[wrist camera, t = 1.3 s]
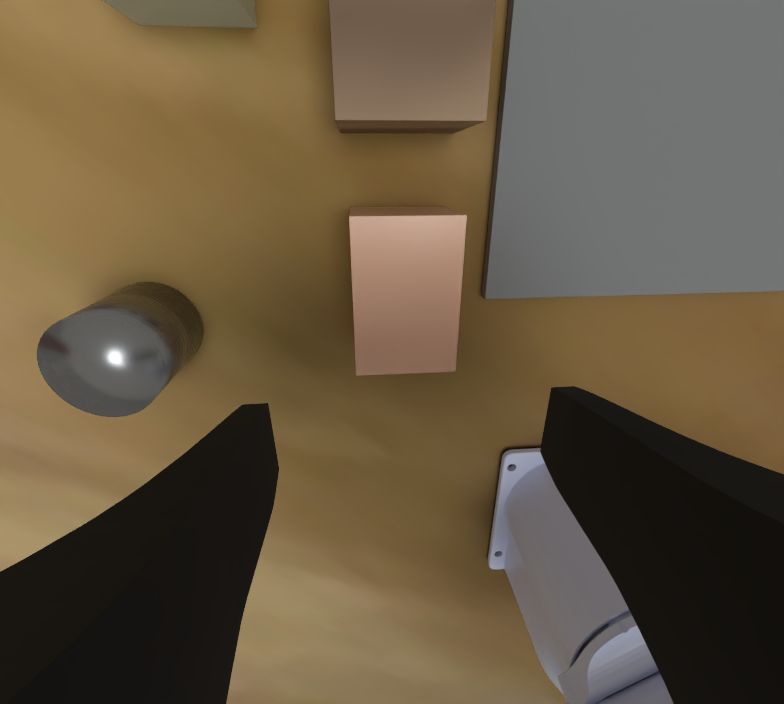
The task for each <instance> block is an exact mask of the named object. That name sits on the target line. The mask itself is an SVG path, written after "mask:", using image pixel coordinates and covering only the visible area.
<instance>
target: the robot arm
mask: <svg viewBox="0 0 784 704" xmlns="http://www.w3.org/2000/svg"><path fill="white" fill-rule="evenodd" d="M510 464H513V465H512V466H510V467H508V466H509V465H510ZM278 472H279V466H278V460H277V454H276V448H275V442H274V436H273V430H272V424H271V418H270V412H269V406H268V403H265V404H246V405H242V406H240V407H239V408H238V409H237V410H235V411H234V412H233V413H232V414H231V415H229V416H228V417H227V418H226V419H225V420H224V421H222V422H221V423H220V424H219V425H218V426H217V427H215V428H214V429H213V430H212V431H211V432H210V433H208V434H207V435H206V436H205V437H204V438H202V439H201V440H200V441H199V442H198V443H197V444H195V445H194V446H193V447H192V448H191V449H189V450H188V451H187V452H186V453H185V454H183V455H182V456H181V457H179V458H178V459H177V460H176V461H174V462H173V463H172V464H170V465H169V466H168V467H166V468H165V469H164V470H163V471H161V472H160V473H159V474H157V475H156V476H155V477H153V478H152V479H151V480H150V481H148V482H147V483H146V484H144V485H143V486H141V487H140V488H139V489H137V490H136V491H134V492H133V493H131V494H130V495H129V496H127V497H126V498H124V499H123V500H121V501H120V502H118V503H117V504H115V505H114V506H112V507H111V508H109V509H108V510H106V511H104V512H103V513H101V514H100V515H98V516H97V517H95V518H94V519H92V520H90V521H89V522H87V523H86V524H84V525H82V526H81V527H79V528H77V529H75V530H74V531H72V532H70V533H68V534H67V535H65V536H63V537H62V538H60V539H58V540H56V541H55V542H53V543H51V544H49V545H48V546H46V547H44V548H43V549H41V550H39V551H37V552H36V553H34V554H32V555H30V556H29V557H27V558H25V559H23V560H22V561H20V562H18V563H16V564H14V565H12V566H10V567H9V568H7V569H5V570H3V571H1V572H0V704H226V701H227V695H228V690H229V684H230V678H231V672H232V667H233V662H234V657H235V652H236V646H237V641H238V636H239V631H240V625H241V620H242V616H243V612H244V608H245V604H246V600H247V596H248V593H249V589H250V586H251V583H252V579H253V576H254V572H255V569H256V565H257V562H258V558H259V555H260V552H261V548H262V545H263V541H264V538H265V534H266V531H267V527H268V524H269V520H270V517H271V513H272V509H273V505H274V499H275V493H276V486H277V479H278ZM488 564H489V567H490V568H491V569H495V570H496V569H505V571H506V574H507V576H508V579H509V582H510V584H511V587H512V590H513V592H514V595H515V598H516V600H517V603H518V606H519V608H520V611H521V614H522V616H523V619H524V622H525V624H526V627H527V630H528V632H529V635H530V638H531V640H532V643H533V646H534V648H535V651H536V654H537V656H538V659H539V661H540V663H541V665H542V667H543V669H544V671H545V672H546V674H547V675H548V677H549V678H550V680H551V681H552V682H553V683H554V685H555V686H556V687H557V688H558V689H559V690H560V691H561V692H562V693H563V694H564V696H565V698H566V701H567V704H784V474H781V473H778V472H775V471H772V470H769V469H767V468H764V467H761V466H758V465H756V464H753V463H750V462H747V461H745V460H742V459H739V458H736V457H734V456H731V455H729V454H726V453H724V452H721V451H718V450H716V449H714V448H711V447H709V446H706V445H704V444H702V443H699V442H697V441H695V440H692V439H690V438H688V437H685V436H683V435H681V434H678V433H676V432H674V431H672V430H670V429H667V428H665V427H663V426H661V425H659V424H656V423H654V422H652V421H650V420H648V419H646V418H644V417H642V416H639V415H637V414H635V413H633V412H631V411H629V410H627V409H625V408H623V407H621V406H618V405H616V404H614V403H612V402H610V401H608V400H606V399H604V398H601V397H599V396H597V395H595V394H593V393H590V392H588V391H585V390H583V389H580V388H577V387H574V386H572V387H554V388H551V393H550V398H549V404H548V410H547V415H546V421H545V427H544V432H543V438H542V443H541V448H532V449H514V450H508V451H506V452H505V453H504V454H503V456H502V461H501V468H500V475H499V482H498V489H497V497H496V504H495V511H494V518H493V525H492V533H491V540H490V547H489V554H488Z"/></svg>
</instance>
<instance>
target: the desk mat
mask: <svg viewBox="0 0 784 704" xmlns="http://www.w3.org/2000/svg"><path fill="white" fill-rule="evenodd" d="M764 291H784V0H509V4H508V14H507V25H506V36H505V47H504V58H503V68H502V79H501V90H500V101H499V111H498V122H497V133H496V144H495V154H494V165H493V176H492V187H491V197H490V208H489V219H488V230H487V240H486V251H485V262H484V273H483V283H482V294H481V296H482V297H483V298H484V299H509V298H546V297H582V296H618V295H655V294H691V293H727V292H764Z"/></svg>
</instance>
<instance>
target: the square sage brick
mask: <svg viewBox="0 0 784 704" xmlns="http://www.w3.org/2000/svg"><path fill="white" fill-rule="evenodd" d="M103 1H104V2H106V3H107V4H109V5H110V6H112V7H113V8H115V9H116V10H118V11H119V12H121V13H122V14H123V15H125V16H126V17H128V18H129V19H131V20H132V21H134V22H135V23H137V24H138V25H148V26H192V27H236V28H257V20H256V11H255V3H254V0H103Z"/></svg>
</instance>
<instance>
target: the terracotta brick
mask: <svg viewBox="0 0 784 704" xmlns="http://www.w3.org/2000/svg"><path fill="white" fill-rule="evenodd" d="M466 220H467V215H465V214H463V213H460V212H457V211H455V210H452V209H450V208H447V207H445V206H403V207H350V214H349V225H350V247H351V270H352V293H353V315H354V338H355V361H356V376H360V375H384V374H409V373H433V372H456V358H457V344H458V330H459V317H460V303H461V289H462V275H463V261H464V247H465V234H466Z"/></svg>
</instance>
